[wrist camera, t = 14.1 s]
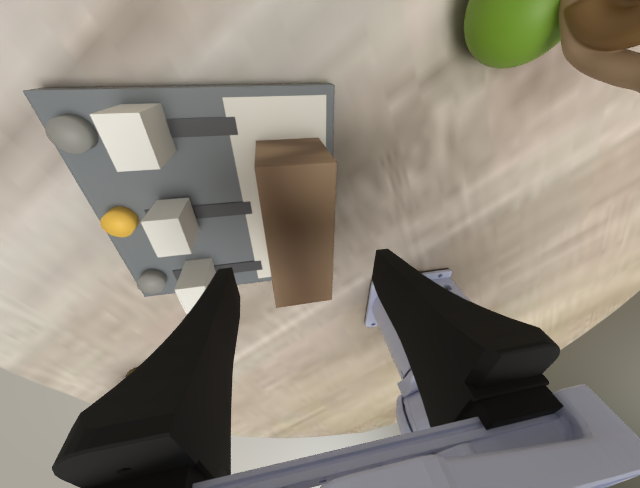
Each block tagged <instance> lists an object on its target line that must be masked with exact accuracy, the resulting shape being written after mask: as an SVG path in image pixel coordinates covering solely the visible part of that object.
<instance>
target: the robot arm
mask: <svg viewBox="0 0 640 488" xmlns="http://www.w3.org/2000/svg"><path fill="white" fill-rule="evenodd" d="M451 275H452V271H451V270H449V269H446V270H439V271H432V272H424V273H420V272H419V271H417V270H416V269H415V268H413V267H412V266H410V265H409V264H408V263H406V262H405V261H404V260H402V259H401V258H400V257H398V256H397V255H396V254H394V253H393V252H391V251H390V250H389V249H382V250H376V256H375V262H374V268H373V274H372V283H371V288H370V294H369V300H368V307H367V313H366V319H365V326H366V327H373V326H379V329H380V331H381V333H382V335H383V338H384V340H385V342H386V345H387V347H388V349H389V351H390V354H391V356H392V358H393V360H394V363H395V365H396V367H397V369H398V372H399V374H400V376H401V379H402V381H400V382H399V383H398V387H399V389H400V391H401V394H402V395H399V397H398V398H397V402H396V417H397V422H398V425H399V429H400V431H401V434H402V435H397V436H393V437H389V438H385V439H381V440H376V441H372V442H368V443H363V444H359V445H355V446H351V447H346V448H342V449H338V450H334V451H329V452H325V453H321V454H317V455H313V456H309V457H304V458H300V459H296V460H291V461H287V462H283V463H279V464H274V465H270V466H266V467H262V468H257V469H254V470H249V471H245V472H240V473H236V474H232V475H231V397H232V372H233V361H234V354H235V347H236V340H237V333H238V326H239V319H240V295H239V291H238V287H237V284H236V280H235V276H234V273H233V269H232V267H231V268H223V269H218V270H217V272H216V273H215V275H214V277H213V278H212V280H211V281H210V283H209V285H208V286H207V288H206V289H205V291H204V292H203V294H202V295H201V297H200V298H199V299H198V301H197V302H196V304H195V305H194V306H193V308H192V309H191V310H190V312H189V313H188V314H187V316H186V317H185V318H184V319H183V321H182V322H181V323H180V324H179V326H178V327H177V328H176V329H175V330H174V331H173V332H172V334H171V335H170V336H169V337H168V338H167V339H166V340H165V341H164V342H163V343H162V344H161V345H160V346H159V347H158V348H157V349H156V350H155V351H154V352H153V353H152V354H151V355H150V356H149V357H148V358H147V359H146V360H145V361H144V362H143V363H142V364H141V365H140V366H139V367H137V368H136V369H135V370H134V371H133V372H132V373H131V374H129V375H128V376H127V377H126V378H125V379H124V380H122V381H121V382H120V383H119V384H118V385H116V386H115V387H114V388H113V389H111V390H110V391H109V392H108V393H106V394H105V395H104V396H102V397H101V398H100V399H98V400H97V401H96V402H95V403H93V404H92V405H91V406H89V407H88V408H87V409H86V410H84V411H83V412H81V413H80V415H79V416H78V418H77V420H76V422H75V423H74V425H73V427H72V429H71V431H70V433H69V435H68V437H67V439H66V441H65V443H64V445H63V447H62V449H61V451H60V453H59V454H58V457H57V459H56V461H55V463H54V465H53V466H52V470H53V472H54V474H55V475H56V476H57V477H58V478H60V479H62V480H64V481H66V482H69V483H71V484H73V485H75V486H78V487H80V488H311V487H315V486H319V485H322V486H321V487H320V488H605V487H608V486H612V485H614V484H617V483H620V482H622V481H625V480H628V479H630V478H633V477H635V476H638V475H640V438H639V437H638V436H637V435H636V434H635V433H634V432H633V431H632V430H631V429H630V428H629V427H628V426H627V425H626V424H625V423H624V422H623V421H622V420H621V419H620V418H619V417H618V416H617V415H616V414H615V413H614V412H613V411H612V410H611V409H610V408H609V407H608V406H606V404H605V403H604V402H603V401H602V400H601V399H600V398H599V397H598V396H597V395H596V394H595V393H594V392H593V391H592V390H591V389H590V388H589V387H588V386H587V385H584V384H581V385H577V386H572V387H568V388H564V389H561V390H558V391H556V392H553V393H552V392H551V391H550V390H549V389H548V388H547V386H546V385H548V384H549V381H548V380H547V379H546V377H545V376H544V375H543V374H542V373H543V372H544V371H545V370H546V369H547V368H548V367H549V366H550V365H551V364H552V363H553V362H554V361H555V360H556V359H557V358H558V356H559V353H560V348H559V346H558V345H557V344H556V343H555V342H554V341H553V340H552V339H551V338H550V337H549V336H547V335H546V334H545V333H544V332H543V331H542V330H541V329H540V328H538V327H535V326H532V325H529V324H526V323H523V322H520V321H517V320H514V319H511V318H508V317H506V316H503V315H501V314H498V313H496V312H493V311H491V310H488V309H486V308H483V307H481V306H479V305H477V304H475V303H472V302H471V301H470V300H469V299H468V298H467V296H466V295H465V294H464V293H463V292H462V291H461V290H460V288H459V287H458V286H457V285H456V284H455V283H454V281H453V280H452V279H451V278H450V277H451ZM323 484H324V485H323Z"/></svg>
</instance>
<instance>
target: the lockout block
mask: <svg viewBox="0 0 640 488" xmlns="http://www.w3.org/2000/svg"><path fill="white" fill-rule="evenodd" d="M254 169H255V175H256V182H257V188H258V194H259V201H260V207H261V214H262V220H263V226H264V233H265V239H266V246H267V252H268V258H269V265H270V271H271V277H272V284H273V290H274V297H275V303H276V308H278V307H285V306H292V305H299V304H306V303H312V302H319V301H326V300H332V280H333V252H334V225H335V198H336V171H337V162H336V161H335V159H334V158H333V156H332V155H331V154H330V152H329V151H328V150H327V148H326V147H325V146H324V144H323V143H322V142H321V140H320V139H319V138H301V139H280V140H260V141H256V148H255V164H254Z"/></svg>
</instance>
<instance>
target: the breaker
mask: <svg viewBox="0 0 640 488" xmlns="http://www.w3.org/2000/svg"><path fill="white" fill-rule="evenodd" d="M141 224H142V226H143V228H144V230H145V232H146V234H147V236H148V238H149V240H150V243H151V245H152V247H153V249H154V251H155V253H156V255H157V257H167V256H176V255H185V254H192V251H193V248H194V245H195V243H196V240H197V237H198V234H199V231H200V229H199V226H198V223H197V220H196V217H195V214H194V211H193V208H192V205H191V202H190V199H189V198H177V199H165V200H156V202H155V203H154V204H153V206H152V207H151V208H150V210H149V211H148V212H147V214H146V215H145V216H144V218H143V219H142V220H141Z"/></svg>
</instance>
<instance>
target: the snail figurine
mask: <svg viewBox="0 0 640 488" xmlns="http://www.w3.org/2000/svg"><path fill="white" fill-rule="evenodd" d="M464 36H465V41H466V44H467V47H468V49H469V51H470V53H471V54H472V55H473V57H474V58H475V59H476V60H478V61H479V62H480V63H482V64H484V65H486V66H489V67H493V68H511V67H516V66H519V65H523V64H525V63H528V62H530V61H532V60H534V59H536V58H538V57H540V56H541V55H543V54H544V53H546V52H547V51H549V50H550V49H551V48H553V47H554V46H555V45H556V44H557V43H559V42H560V41H561V46H562V51H563V54H564V56H565V58H566V59H567V61H568V62H569V63H570V64H571V65H572V66H573V67H575V68H576V69H577V70H579V71H580V72H582V73H583V74H585V75H587V76H589V77H592V78H594V79H597V80H599V81H602V82H605V83H607V84H610V85H613V86H617V87H621V88H626V89H631V90H634V91H637V92H639V93H640V53H638V52H634V51H631V50H628V49H627V48H631V47H634V46H637V45H640V0H469V2H468V5H467V9H466V13H465V19H464Z"/></svg>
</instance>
